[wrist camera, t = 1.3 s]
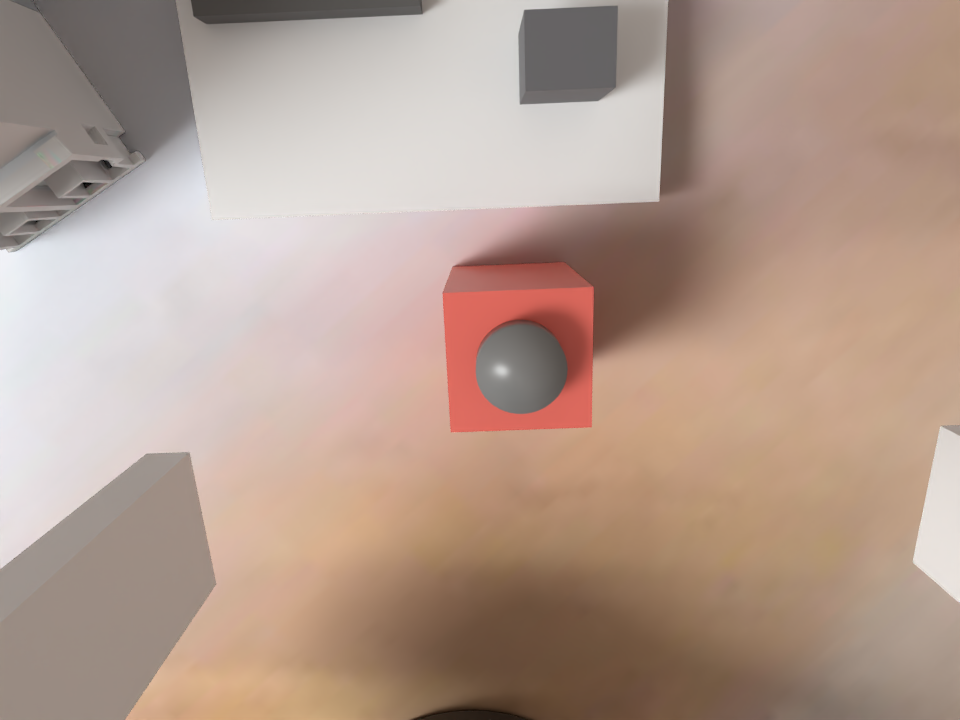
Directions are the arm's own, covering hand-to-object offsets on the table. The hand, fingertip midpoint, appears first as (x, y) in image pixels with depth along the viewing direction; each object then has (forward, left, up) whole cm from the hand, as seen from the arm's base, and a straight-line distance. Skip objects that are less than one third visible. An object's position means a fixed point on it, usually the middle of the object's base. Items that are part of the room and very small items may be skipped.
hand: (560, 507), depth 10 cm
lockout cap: (0, 0, -17) cm, 17 cm away
